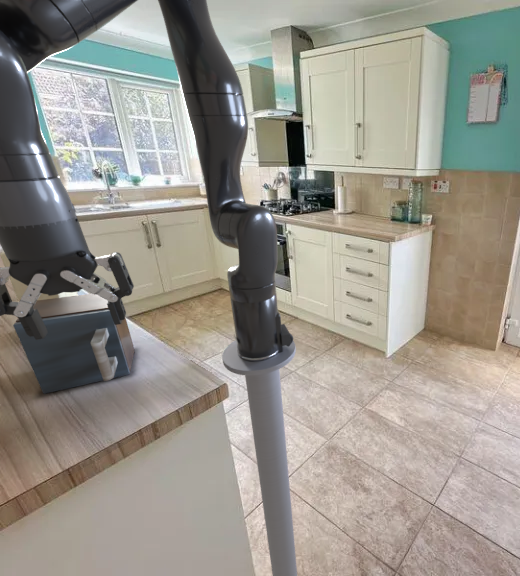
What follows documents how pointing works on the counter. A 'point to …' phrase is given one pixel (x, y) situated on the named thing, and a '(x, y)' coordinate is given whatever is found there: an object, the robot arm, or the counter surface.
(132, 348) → the cupboard
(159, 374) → the counter surface
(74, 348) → the door
